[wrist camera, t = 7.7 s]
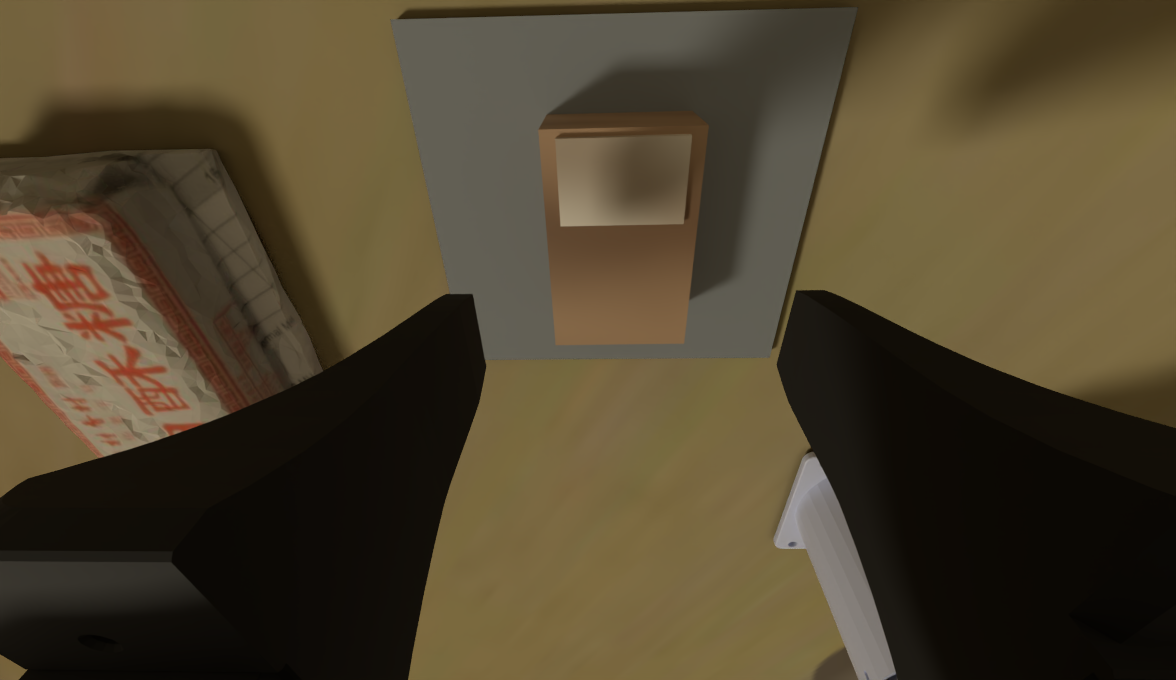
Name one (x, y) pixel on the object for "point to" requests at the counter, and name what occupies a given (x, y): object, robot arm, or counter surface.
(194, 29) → the counter surface
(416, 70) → the slate mat
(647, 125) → the walnut block
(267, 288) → the packaged product
